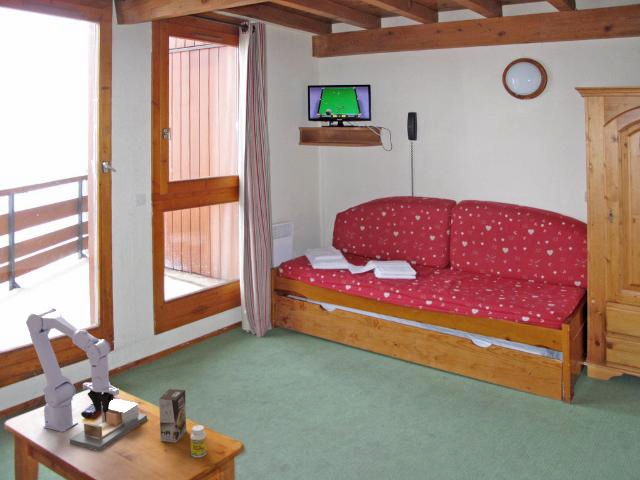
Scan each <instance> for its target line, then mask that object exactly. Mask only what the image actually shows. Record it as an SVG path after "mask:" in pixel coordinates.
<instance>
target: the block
mask: <svg viewBox="0 0 640 480" xmlns="http://www.w3.org/2000/svg"><path fill="white" fill-rule="evenodd" d="M106 420H107V423H110V424H114V425H117V424H119V423H121V422H122V413H119V412H115V411H108V412H106Z"/></svg>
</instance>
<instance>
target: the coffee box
mask: <svg viewBox="0 0 640 480" xmlns="http://www.w3.org/2000/svg"><path fill="white" fill-rule="evenodd" d="M158 404H159V428H160V429H159V431H160V433H159V435H160V437H159V438H160V442H167V443H178V441H180V439H181V438H182V437H183V436H184V435H185V434H186V432H187V408H186V404H187V403H186V390H185V389H174V388H172V389H171V388H169V389H167V391H165V393H164V394H162V395H161V397H160V398H159V403H158Z"/></svg>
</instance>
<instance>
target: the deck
mask: <svg viewBox="0 0 640 480" xmlns="http://www.w3.org/2000/svg"><path fill="white" fill-rule="evenodd" d="M147 419H148V415H147V414H143V413H141V412H140V413H139V412H138V419H136V420H135V421H133V422H132V423H130V424H129V425H127V426H126V427H123V426H120V427H119V428H117V429H116V430H114V431H113V432H111V433H110V434H108V435H106V436H105V437H103V438H102V439H96V438H92V437H88V436H84V434H85V433H84V430H82V431H81V432H78V433H77V434H76V435H74V436H73V437H71V438H69V444H70V445H71V444H72V445H75V446H79V447H82V448H87V449H90V450H95V451H98V452H101V451H102V450H103V449H105V448H106V447H108V446H109V445H111V444H112V443H114V442H115V441H117V440H118V439H119V438H121V437H122V436H124V435H126V434H127V433H128V432H130V431H132V430H133V429H134V428H136V427H138V426H139V425H140V424H142V423H144V422H145V421H146V420H147ZM102 423H103V422H102V419H100V420H98V421H97V422H95V423H94V425H100V424H102Z"/></svg>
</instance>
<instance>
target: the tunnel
mask: <svg viewBox="0 0 640 480" xmlns="http://www.w3.org/2000/svg"><path fill="white" fill-rule="evenodd" d="M138 408H139V407H138V403H136V402H130V401H127V400H122V399H118V398H113V400H112V399H111V402H110V406H109V411H115V412H119V413H122V426H123V427H126V426H127V425H129V424H130V423H132V422H133V421H135V420H136V419H138V413H139V409H138ZM100 410H101V420H102V422H105V421H106V412H105V413H104V412H103V409H102V406H101V409H100ZM107 412H108V411H107Z"/></svg>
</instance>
